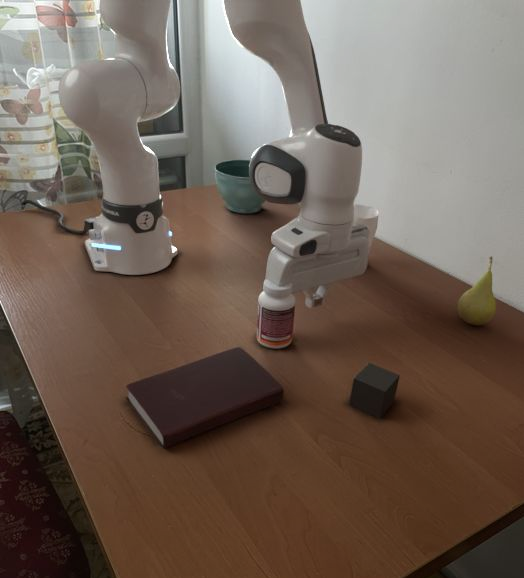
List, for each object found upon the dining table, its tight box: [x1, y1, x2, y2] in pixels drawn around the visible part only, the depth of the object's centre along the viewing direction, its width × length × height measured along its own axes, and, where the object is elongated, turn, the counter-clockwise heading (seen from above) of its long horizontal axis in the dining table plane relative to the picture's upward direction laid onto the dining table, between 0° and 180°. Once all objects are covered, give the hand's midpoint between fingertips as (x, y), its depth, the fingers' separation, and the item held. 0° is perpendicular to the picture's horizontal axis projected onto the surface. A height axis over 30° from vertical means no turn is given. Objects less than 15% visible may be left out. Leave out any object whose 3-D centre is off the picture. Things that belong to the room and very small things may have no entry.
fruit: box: [457, 255, 497, 326], centre depth 100 cm, size 7×8×12 cm
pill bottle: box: [256, 279, 296, 350], centre depth 92 cm, size 6×6×11 cm
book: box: [125, 346, 285, 449], centre depth 79 cm, size 12×19×3 cm, turn 124°
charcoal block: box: [348, 362, 401, 419], centre depth 80 cm, size 5×5×5 cm
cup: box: [353, 203, 380, 252], centre depth 120 cm, size 9×9×12 cm
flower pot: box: [213, 159, 266, 214], centre depth 146 cm, size 16×16×11 cm
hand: (314, 305), depth 98 cm, fingers closed
